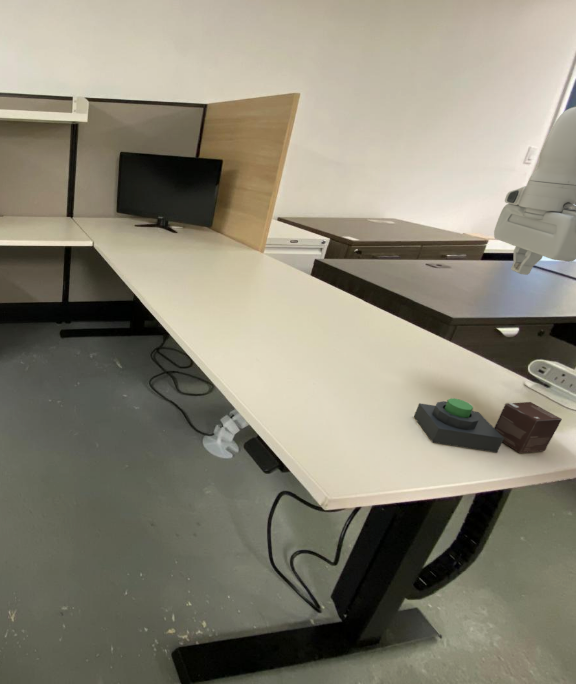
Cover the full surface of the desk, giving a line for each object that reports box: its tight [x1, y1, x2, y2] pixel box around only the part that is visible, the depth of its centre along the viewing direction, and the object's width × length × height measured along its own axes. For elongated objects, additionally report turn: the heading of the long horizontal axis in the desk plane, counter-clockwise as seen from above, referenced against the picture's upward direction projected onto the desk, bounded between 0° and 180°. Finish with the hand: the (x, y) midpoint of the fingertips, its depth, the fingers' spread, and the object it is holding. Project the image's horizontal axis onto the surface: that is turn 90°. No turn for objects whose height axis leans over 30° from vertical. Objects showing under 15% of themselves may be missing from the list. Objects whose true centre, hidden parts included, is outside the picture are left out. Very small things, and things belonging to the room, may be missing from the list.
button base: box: [413, 400, 504, 453], centre depth 89 cm, size 11×9×5 cm
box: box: [493, 401, 562, 454], centre depth 87 cm, size 6×6×7 cm
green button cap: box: [444, 397, 474, 418], centre depth 88 cm, size 4×4×2 cm
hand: (519, 272), depth 91 cm, fingers closed
